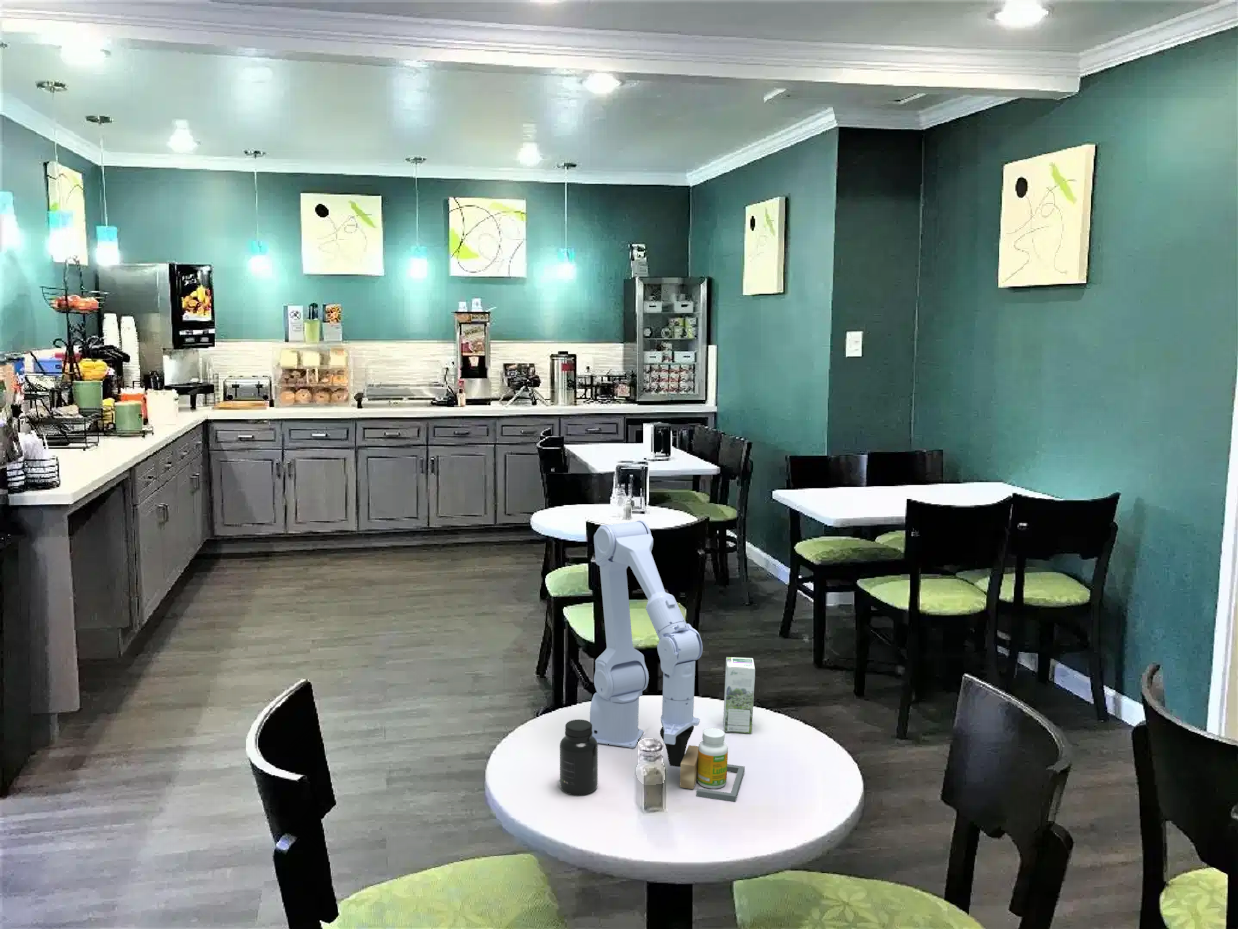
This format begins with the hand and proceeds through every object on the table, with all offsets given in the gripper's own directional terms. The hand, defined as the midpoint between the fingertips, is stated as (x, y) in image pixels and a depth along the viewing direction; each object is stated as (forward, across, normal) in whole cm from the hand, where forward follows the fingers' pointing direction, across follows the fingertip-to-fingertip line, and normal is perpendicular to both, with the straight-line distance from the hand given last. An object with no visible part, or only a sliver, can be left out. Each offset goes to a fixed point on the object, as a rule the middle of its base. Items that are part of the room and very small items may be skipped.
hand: (675, 764), depth 185 cm
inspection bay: (+2, 0, -8) cm, 8 cm away
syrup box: (+3, +25, -8) cm, 26 cm away
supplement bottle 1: (+3, -9, +16) cm, 19 cm away
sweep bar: (+2, 0, -3) cm, 4 cm away
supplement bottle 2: (+3, 0, -7) cm, 7 cm away
